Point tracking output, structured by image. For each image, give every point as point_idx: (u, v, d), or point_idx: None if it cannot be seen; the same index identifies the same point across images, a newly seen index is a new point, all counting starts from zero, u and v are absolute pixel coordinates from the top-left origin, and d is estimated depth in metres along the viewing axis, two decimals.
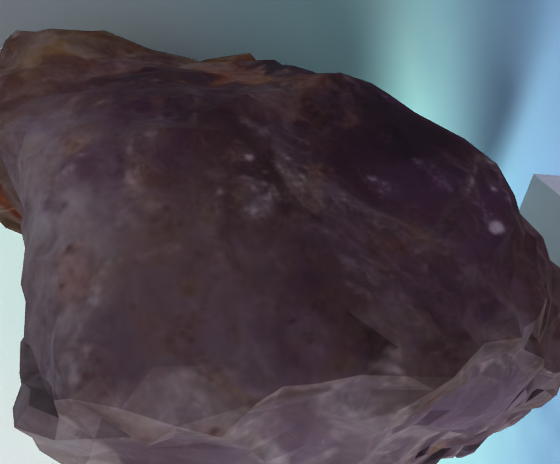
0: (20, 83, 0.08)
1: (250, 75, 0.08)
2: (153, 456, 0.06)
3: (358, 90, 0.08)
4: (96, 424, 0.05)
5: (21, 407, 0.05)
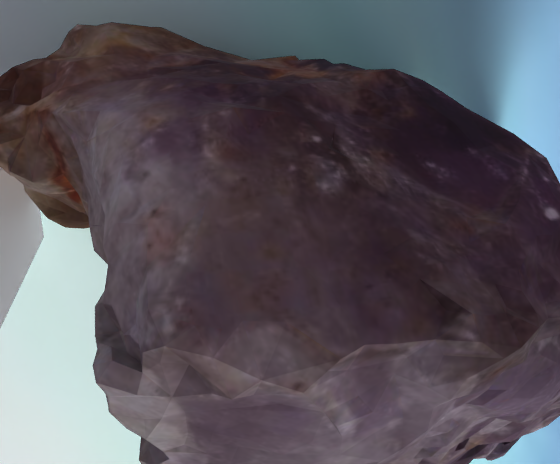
0: (86, 69, 0.08)
1: (304, 71, 0.09)
2: (223, 419, 0.06)
3: (411, 85, 0.08)
4: (177, 380, 0.05)
5: (103, 363, 0.05)
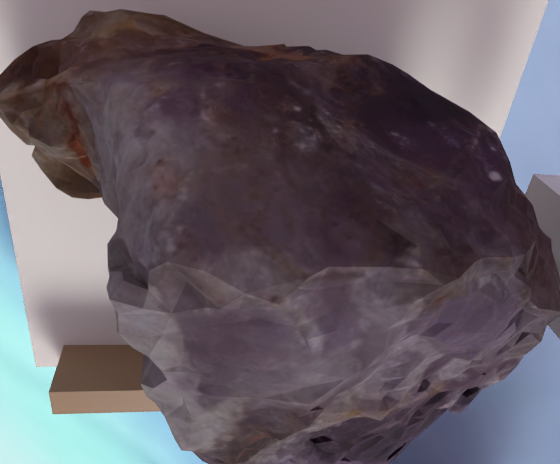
0: (99, 48, 0.09)
1: (290, 55, 0.10)
2: (214, 336, 0.07)
3: (383, 68, 0.09)
4: (176, 298, 0.06)
5: (116, 283, 0.06)
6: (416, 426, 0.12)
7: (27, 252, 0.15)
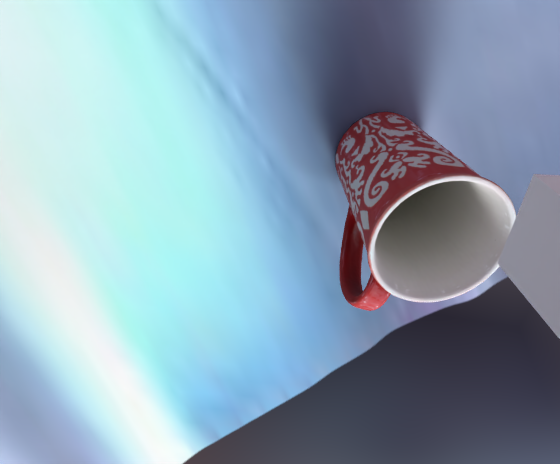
0: None
1: None
2: None
3: None
4: None
5: None
6: None
7: None
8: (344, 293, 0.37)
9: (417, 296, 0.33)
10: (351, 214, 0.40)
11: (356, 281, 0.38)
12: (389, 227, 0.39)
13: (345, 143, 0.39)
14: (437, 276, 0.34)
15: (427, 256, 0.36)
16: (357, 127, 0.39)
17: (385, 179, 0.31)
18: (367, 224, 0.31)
